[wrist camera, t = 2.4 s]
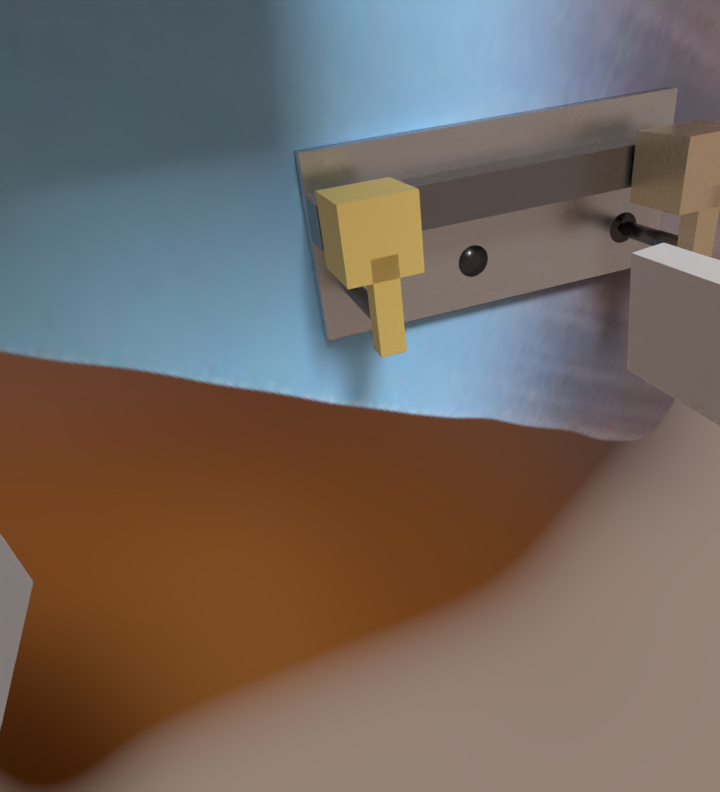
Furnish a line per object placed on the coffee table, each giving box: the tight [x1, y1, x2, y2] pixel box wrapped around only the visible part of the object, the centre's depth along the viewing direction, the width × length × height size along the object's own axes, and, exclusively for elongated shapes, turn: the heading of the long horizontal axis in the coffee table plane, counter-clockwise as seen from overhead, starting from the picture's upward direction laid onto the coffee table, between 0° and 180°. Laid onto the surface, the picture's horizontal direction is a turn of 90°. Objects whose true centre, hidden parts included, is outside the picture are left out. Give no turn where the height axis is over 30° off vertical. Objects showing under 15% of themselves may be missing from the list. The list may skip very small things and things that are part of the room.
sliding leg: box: [315, 177, 425, 357], centre depth 32 cm, size 4×8×6 cm, turn 7°
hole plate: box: [294, 87, 720, 341], centre depth 35 cm, size 24×11×8 cm, turn 97°
